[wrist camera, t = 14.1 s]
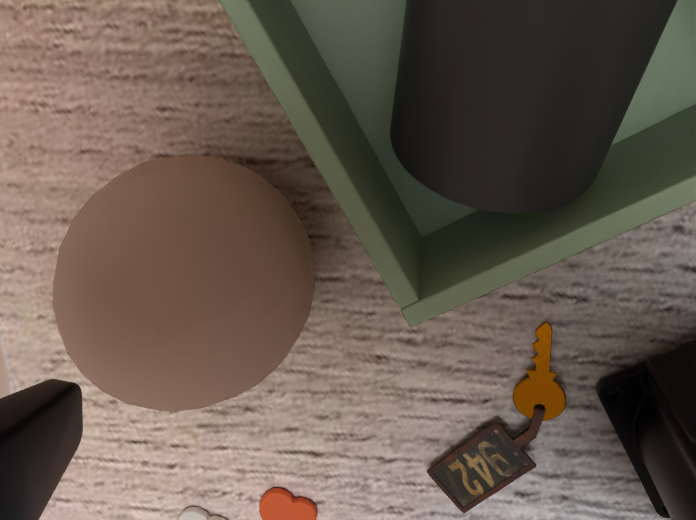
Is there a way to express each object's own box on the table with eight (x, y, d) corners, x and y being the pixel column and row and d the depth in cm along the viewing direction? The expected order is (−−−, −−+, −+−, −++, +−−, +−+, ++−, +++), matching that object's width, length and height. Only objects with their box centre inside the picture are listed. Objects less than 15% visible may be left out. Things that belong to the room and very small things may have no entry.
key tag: (485, 518, 25) (483, 528, 24) (422, 473, 25) (419, 481, 24) (617, 364, 22) (618, 370, 21) (543, 315, 22) (543, 320, 22)
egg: (118, 132, 21) (-58, 201, 13) (328, 133, 20) (268, 207, 13) (147, 322, 24) (12, 470, 16) (334, 329, 23) (286, 490, 15)
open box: (752, 91, 18) (878, 121, 13) (414, 254, 21) (410, 328, 16) (606, -317, 15) (694, -479, 10) (238, -59, 18) (166, -86, 13)
